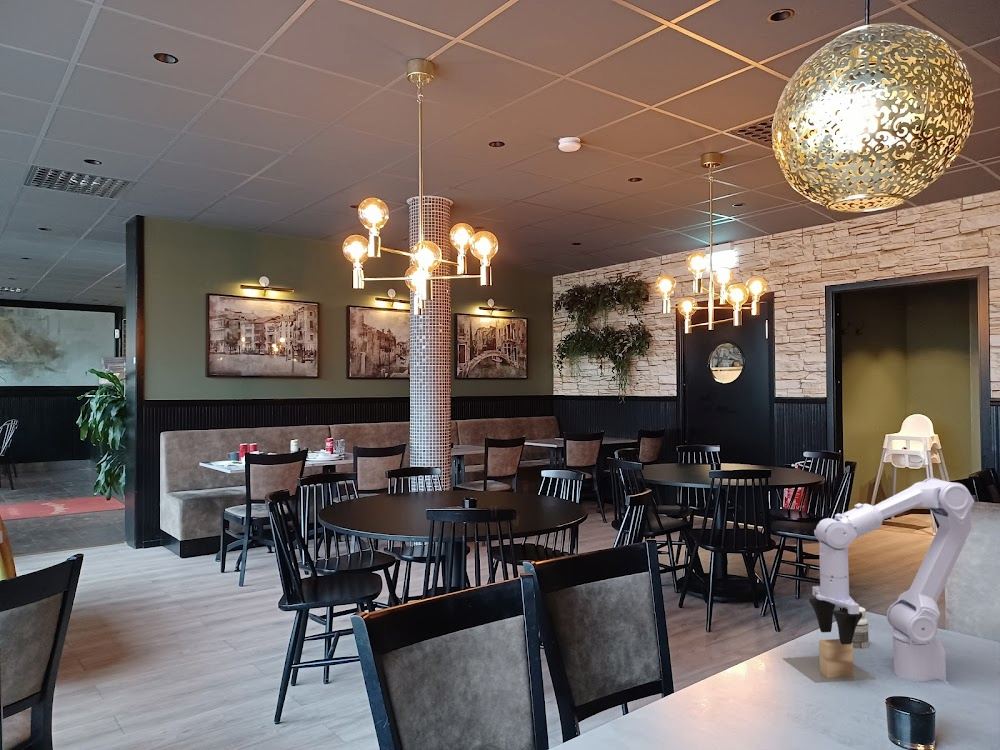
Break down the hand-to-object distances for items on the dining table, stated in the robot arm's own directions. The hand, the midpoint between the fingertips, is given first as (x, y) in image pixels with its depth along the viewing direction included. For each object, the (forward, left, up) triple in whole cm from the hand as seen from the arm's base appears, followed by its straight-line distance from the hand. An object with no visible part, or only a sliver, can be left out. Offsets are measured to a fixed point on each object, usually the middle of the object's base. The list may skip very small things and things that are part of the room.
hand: (835, 637), depth 156 cm
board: (0, -3, -9) cm, 10 cm away
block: (0, 0, -8) cm, 8 cm away
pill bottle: (-15, -16, -9) cm, 24 cm away
